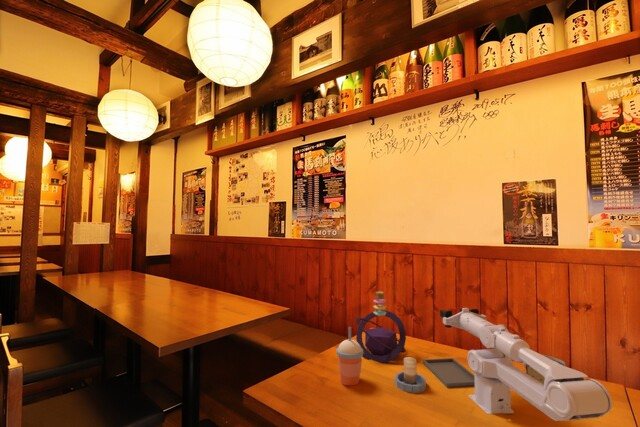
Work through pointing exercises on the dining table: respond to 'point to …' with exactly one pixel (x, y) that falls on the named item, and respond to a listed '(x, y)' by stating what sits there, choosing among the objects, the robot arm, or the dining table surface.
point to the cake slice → (535, 374)
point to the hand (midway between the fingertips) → (450, 312)
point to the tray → (450, 372)
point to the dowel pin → (410, 371)
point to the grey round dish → (407, 387)
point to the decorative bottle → (381, 335)
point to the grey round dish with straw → (349, 361)
